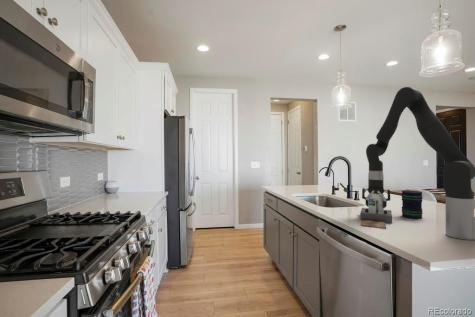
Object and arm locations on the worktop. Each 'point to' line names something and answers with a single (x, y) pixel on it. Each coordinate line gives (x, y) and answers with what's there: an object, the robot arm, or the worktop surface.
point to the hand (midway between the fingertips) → (375, 207)
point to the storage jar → (412, 204)
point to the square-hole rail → (376, 216)
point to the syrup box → (376, 204)
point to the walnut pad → (373, 224)
